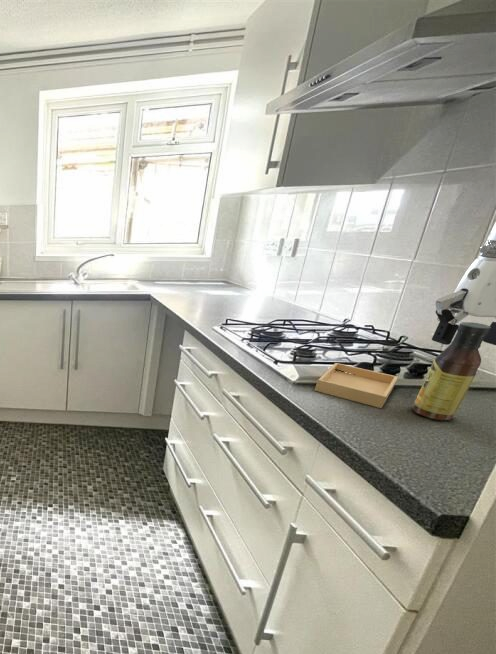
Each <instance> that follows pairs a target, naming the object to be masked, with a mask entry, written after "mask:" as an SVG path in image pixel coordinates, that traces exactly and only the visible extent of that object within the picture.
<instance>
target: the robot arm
mask: <svg viewBox="0 0 496 654" xmlns="http://www.w3.org/2000/svg"><path fill="white" fill-rule="evenodd" d="M435 314H436V316H437V321H438V324H437V327H436V329H435V331H434V333H433V335H432V337H431V341H434V342H435V343H439V344H441V345H445V346H449V345H450V344H451V342H452V341H453V340H454V338H455V336H456V334H457V332H458V330H457V329H458V327H459V325H460V324H458V323H459V322H461V321H462V320H464V319H465V318H466V317H468V316H471V317H477V318H495V319H496V221H495V222H494V224H493V225H492V228H491V230H490V232H489V234H488V236H487V238H486V241H485V243H484V244H483V245H482V246H480V248H479V255H478V257H477V258H475V259H474V260H473V262H472V263H471V264H470V266H469V267H468V269H467V270H466V272H465V273H464V274H463V276H462V278H461V279H460V280H459V283H458V285H457V287H456V288H455V290H454V292H453V293H450V294H447V295H445V296H442V297H439V298H437V299H436V300H435ZM489 326H490V327H491V328H490V330H489V332H488V334H487V335H486V336H485V337H484V339H483V341H482V342H483V343H487V344H490V345H493V346H496V321H492V322H490V325H489Z"/></svg>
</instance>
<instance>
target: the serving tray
mask: <svg viewBox="0 0 496 654" xmlns="http://www.w3.org/2000/svg"><path fill="white" fill-rule="evenodd" d="M335 369H338V370H341V371H345V372H347V373H345V372H341V371H336V370H335ZM349 373H352V374H349ZM354 374H355V375H354ZM398 379H399V376H397V375H394V374H393V375H392V374H387V373H385V372H384V373H383V372H378V371H374V370H370V369H365V368H361V367H358V366H357V367H356V366H352V365H348V364H344V363H339V362H335V363H334V364H332V365H331V366H330V367H329V369H328V370H327V371H325V373H324V374H323V375H322V376H320V377H319V378H318V379H317V382H316V385H315V386H314V391H315V392H319V393H323V394H326V395H330V396H334V397H337V398H342V399H344V400H345V399H346V400H349V401H352V402H357V403H361V404H362V405H363V404H364V405H368V406H372V407H375V408H380V409H382V408H383V406H384V405H385V404H386V401H387V399H388V397H389V396H390V394H391V393H392V391H393V389H394V387H395V385H396V383H397V380H398Z"/></svg>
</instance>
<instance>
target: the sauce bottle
mask: <svg viewBox="0 0 496 654" xmlns="http://www.w3.org/2000/svg"><path fill="white" fill-rule="evenodd" d="M458 325H459V327H458V329H457V331H456V333H455V335H454V337H453V339H452V341H451V343H450V344H449V345H447V347H446V348H444V350H442V352H440V353H439V354H438V355H437V356H436V357H435V358H434V360H433V362H432V363H431V366H430V368H429V370H428V372H427V374H426V376H425V379H424V381H423V383H422V384H421V387H420V389H419V392H418V394H417V397H416V398H415V400H414V405H413V412H414V413H415V414H418V415H420V416H421V417H425V418H428V419H432V420H435V421H450V420H452V419H453V417H454V416H455V414H456V413H457V411H458V410H459V408H460V406H461V404H462V402H463V400H464V398H465V396H466V395H467V392H468V390H469V389H470V387H471V385H472V383H473V381H474V380H475V377H476V375H477V372H478V370H479V368H480V366H481V364H482V357H481V354H480V350H479V349H480V348H481V345H482V343H483V342H484V341H483V339H484V337H485V336H486V335H487V334H488V332H489V330H490V328H491V327H490V325H487V324H485V323H479V322H471V321H463V322H460V323H459V324H458Z"/></svg>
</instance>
